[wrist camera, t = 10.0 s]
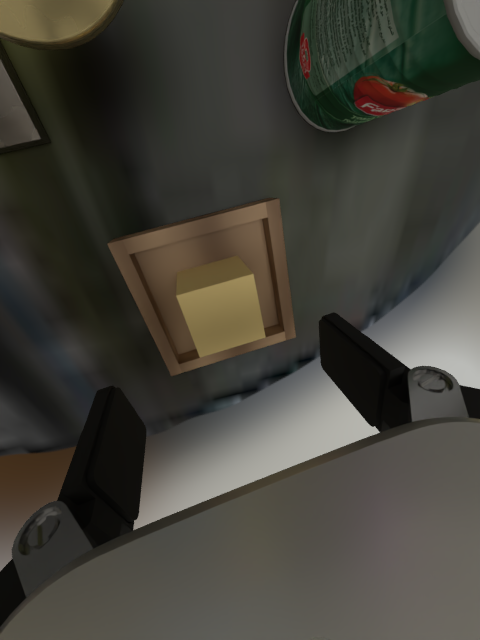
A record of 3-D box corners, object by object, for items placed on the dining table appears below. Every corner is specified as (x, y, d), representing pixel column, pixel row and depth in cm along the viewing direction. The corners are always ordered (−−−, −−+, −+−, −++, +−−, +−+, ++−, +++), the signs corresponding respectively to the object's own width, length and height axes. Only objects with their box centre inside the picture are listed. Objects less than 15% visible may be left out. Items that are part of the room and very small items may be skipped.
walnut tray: (172, 362, 24) (171, 376, 22) (114, 238, 18) (107, 243, 16) (287, 326, 25) (295, 337, 23) (269, 197, 19) (279, 198, 17)
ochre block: (177, 272, 19) (176, 295, 15) (237, 255, 20) (253, 273, 15) (196, 324, 22) (199, 357, 17) (249, 308, 22) (265, 337, 18)
